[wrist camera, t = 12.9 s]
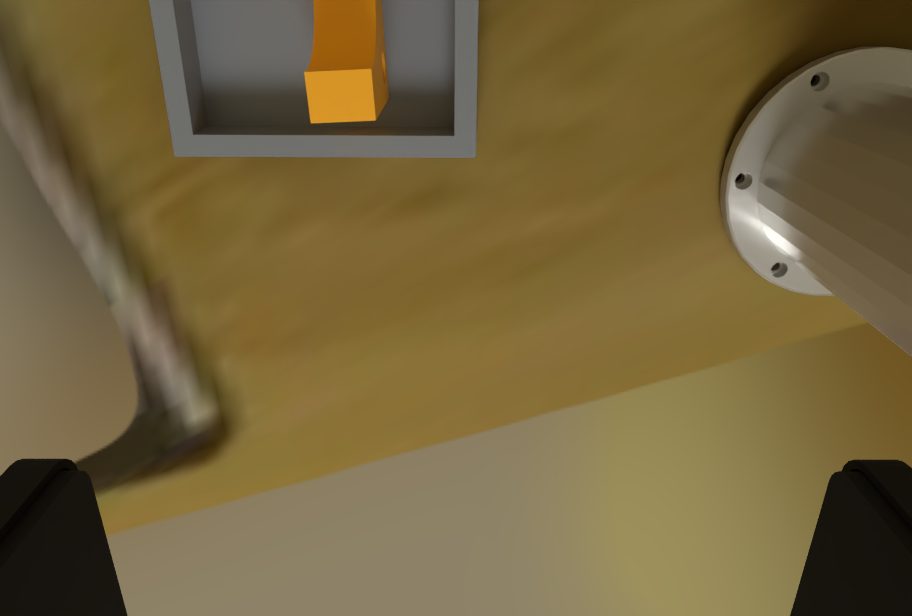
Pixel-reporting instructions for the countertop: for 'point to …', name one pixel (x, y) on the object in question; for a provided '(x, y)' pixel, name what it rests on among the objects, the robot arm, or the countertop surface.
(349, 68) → the pipe clamp
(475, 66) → the parts tray
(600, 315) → the countertop surface
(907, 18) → the countertop surface
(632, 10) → the countertop surface
